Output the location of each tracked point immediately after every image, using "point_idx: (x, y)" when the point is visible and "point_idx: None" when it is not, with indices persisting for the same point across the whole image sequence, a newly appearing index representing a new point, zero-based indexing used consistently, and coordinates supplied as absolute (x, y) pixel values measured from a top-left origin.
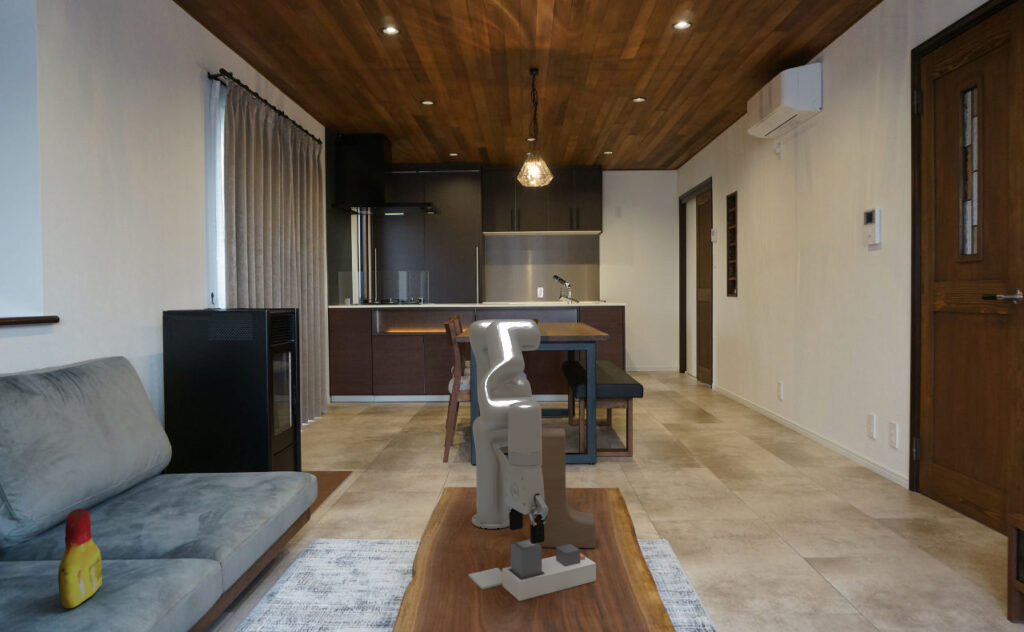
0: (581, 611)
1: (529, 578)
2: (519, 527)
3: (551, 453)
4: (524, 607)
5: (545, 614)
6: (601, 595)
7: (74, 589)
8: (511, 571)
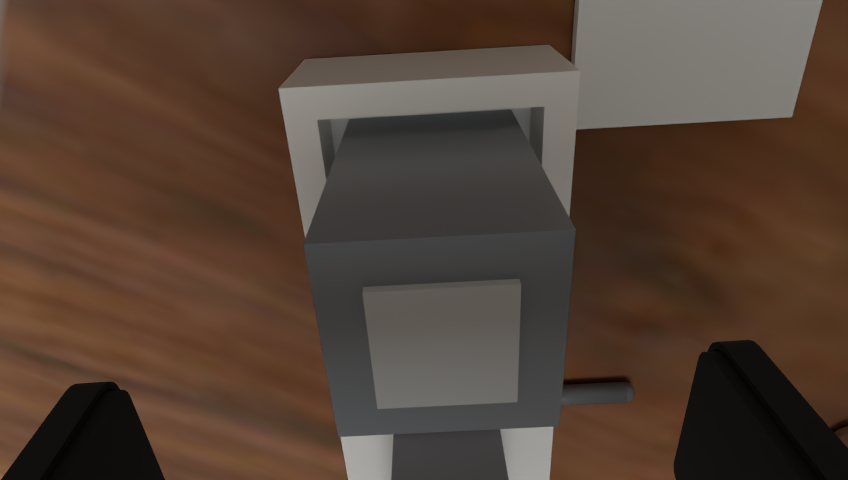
0: (97, 304)
1: (316, 187)
2: (684, 450)
3: None
4: (216, 54)
5: (100, 132)
6: (227, 433)
7: None
8: (515, 124)
